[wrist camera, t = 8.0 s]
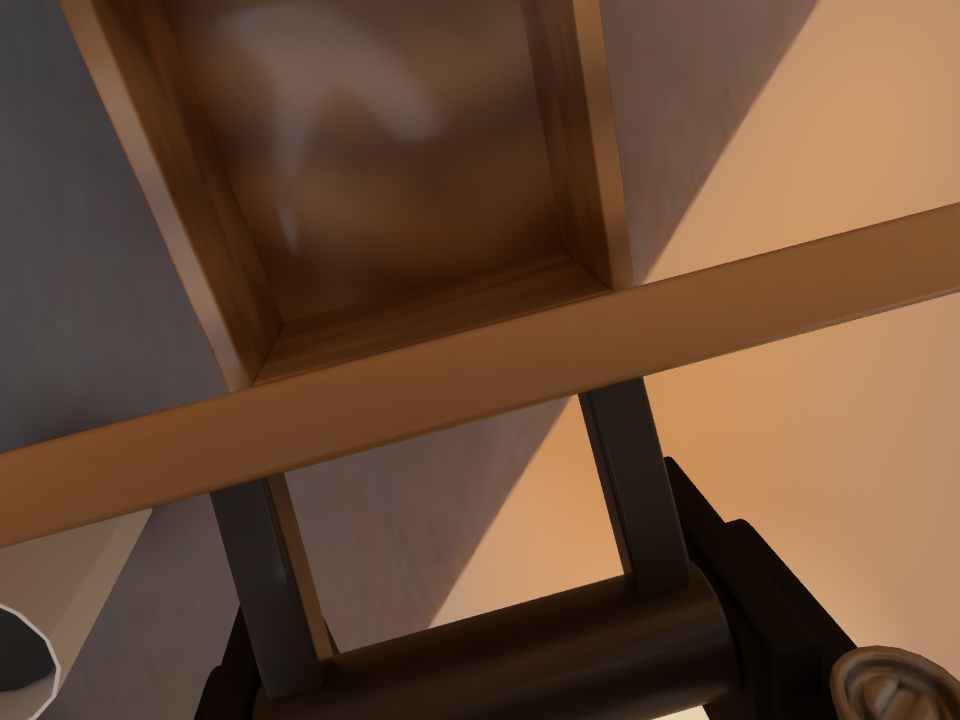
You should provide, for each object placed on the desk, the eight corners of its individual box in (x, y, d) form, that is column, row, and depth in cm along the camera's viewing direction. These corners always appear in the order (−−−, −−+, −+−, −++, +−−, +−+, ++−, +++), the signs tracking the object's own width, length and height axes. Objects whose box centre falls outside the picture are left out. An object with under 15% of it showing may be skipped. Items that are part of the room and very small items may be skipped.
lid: (-434, 565, 5) (-262, 1128, 5) (1138, 154, 6) (1259, 675, 6) (230, 405, 20) (270, 550, 20) (640, 297, 20) (676, 440, 21)
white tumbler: (56, 562, 30) (-95, 762, 21) (-19, 450, 27) (-230, 622, 18) (188, 525, 30) (98, 707, 21) (126, 411, 27) (-8, 560, 18)
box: (135, -23, 21) (18, -85, 15) (517, -113, 22) (572, -213, 15) (275, 337, 27) (236, 410, 20) (578, 259, 28) (638, 305, 21)
